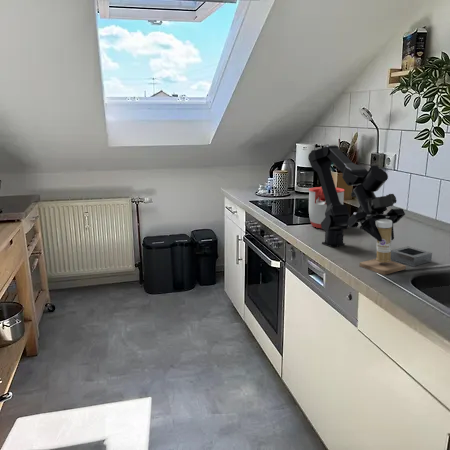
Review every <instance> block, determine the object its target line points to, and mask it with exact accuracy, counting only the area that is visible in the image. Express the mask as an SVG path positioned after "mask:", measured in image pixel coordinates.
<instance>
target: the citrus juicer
mask: <svg viewBox="0 0 450 450" xmlns="http://www.w3.org/2000/svg"><path fill="white" fill-rule="evenodd" d="M336 191H337V194H338V198H339V201H340V203H341V204H342V205H344V201H345V198H344V197H345V189H344V188H340V187H336ZM308 193H309V194H308V214H309V215H308V216H309V220H310V221H309V222H310V224H311V226H312V227H313V228H315V227H316V229H322V228H321V222H322V221H323V220H324V219H325V211H326V208H327V204H326V201H325V197H324V194H323V190H322V186H315V187H310V188H308Z"/></svg>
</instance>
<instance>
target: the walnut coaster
mask: <svg viewBox="0 0 450 450" xmlns="http://www.w3.org/2000/svg"><path fill="white" fill-rule="evenodd" d="M358 266H359V267H360V268H364V269H366V270H370V271H372V272H376V273H378V274H380V275H382V276H386V275H389V274H393V273H397V272H399V271H403V270H406V268H407V264H404V263H401V262H397V261H394V260H391V261H390V262H379V261H377V260H376V258H373V259H369V260H364V261H361V262H359V265H358Z"/></svg>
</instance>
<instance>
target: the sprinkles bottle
mask: <svg viewBox="0 0 450 450" xmlns="http://www.w3.org/2000/svg"><path fill="white" fill-rule="evenodd" d="M376 226H377V229H378V231H379V233H380V235H381V238H382V241H381V242H379V241H378V240H377V239H376V258H375V259H376V260H377V261H379V262H390V261H392V260H391V250H392V240H391V231H392V221H391V220H389V219H380V220H376Z"/></svg>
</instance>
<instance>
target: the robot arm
mask: <svg viewBox="0 0 450 450" xmlns="http://www.w3.org/2000/svg"><path fill="white" fill-rule="evenodd" d="M307 156H308V162H309V164H310V166H311V168H312V169H313V170H314V171H315V172H316V173H317V175H318V179H319V183H320V187H322V190H323V194H324V197H325V201H326V204H327V208H326V211H325V219H324V220H323V221H322V222H321V228H320V229H322V230H323V231H325V233H324V234H325V235H324V241H322V242H321V244H323V245H325V246H328V247H331V248H337V247H342V246H345V245H346V243H345V242H344V230H348V228H349V229H356V228H358V226H359V223H360V226H359V229H360V230H363V231H364V232H366V233H368V235H370V236H372V237H373V238H374V239H375V240H376V241H377V240H378V241H379V242H381V241H382V238H381V235H380V233H379V231H378V229H377V221H378V220H380V219H389V220H391V221H392V231H391V241H394V240H395V235H394V224H396V223H398V222H399V221H400V220H401V219H402V218H404V216H405V215H406V212H405V211H404V209H403V208H402V207H397V208H390V210H389V211H388V212H387V210H388V208H389V207H392V206H394V204H397V197H396V195H395V194H394V193H388V194H386V195H382V196H376V194H375V192H378V191H379V190H380V189H381V187H382V186H383V185H384V184H385V183H386V181H388V180H389V175H388V173H387V172H386V170H383V169H382V168H379V166H378V165H374V164H373V165H371V166H370V167H369V169H368V170H367V168H365V167H364V166H362V165H359V164H356V163H355V162H353V161H351V159H350V158H349V157H347V155H346V154H344V153H343V152H342V151H341V149H340V148H339V146H338V145H336V144H335V145H334V144H333V145H326V146H324V147H321V148H318V149H312V150H311V151H310V153H309V154H308V155H307ZM332 164H333V165H334V166H336V167H337V168H338V170H339V171H340V172H341V173H342V180H343V181H344V182H345V184H346V185H347V186H356V187H355V188H352V192H351V195H350V196H351V197H352V198H353V197H356V199H357V201H358V204H359V207H358V210H359V211H354V212H353V214H351V216H350V212H349V209H348V205H347V204H344V203H343V205H342V204H341V203H340V201H339V198H338V194H337V191H336V188H337V187H336V184H335V181H334V177H333V175H332V174H333V173H332V171H331V170H332V169H331V167H332ZM384 212H386V213H384Z"/></svg>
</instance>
